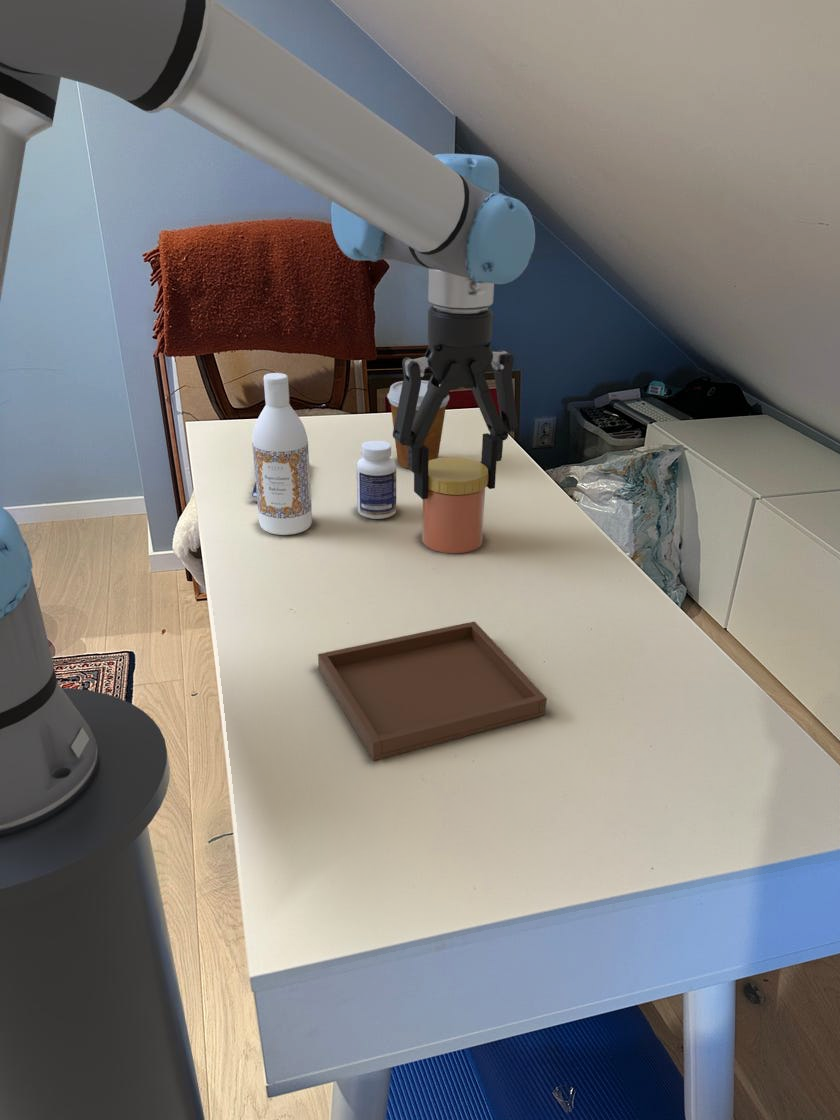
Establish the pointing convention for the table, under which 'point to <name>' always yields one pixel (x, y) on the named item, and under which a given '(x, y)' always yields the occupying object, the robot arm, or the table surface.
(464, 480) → the lid
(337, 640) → the table surface
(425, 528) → the jar
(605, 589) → the table surface
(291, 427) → the bath foam
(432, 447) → the disposable coffee cup
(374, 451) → the pill bottle
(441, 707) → the tray
